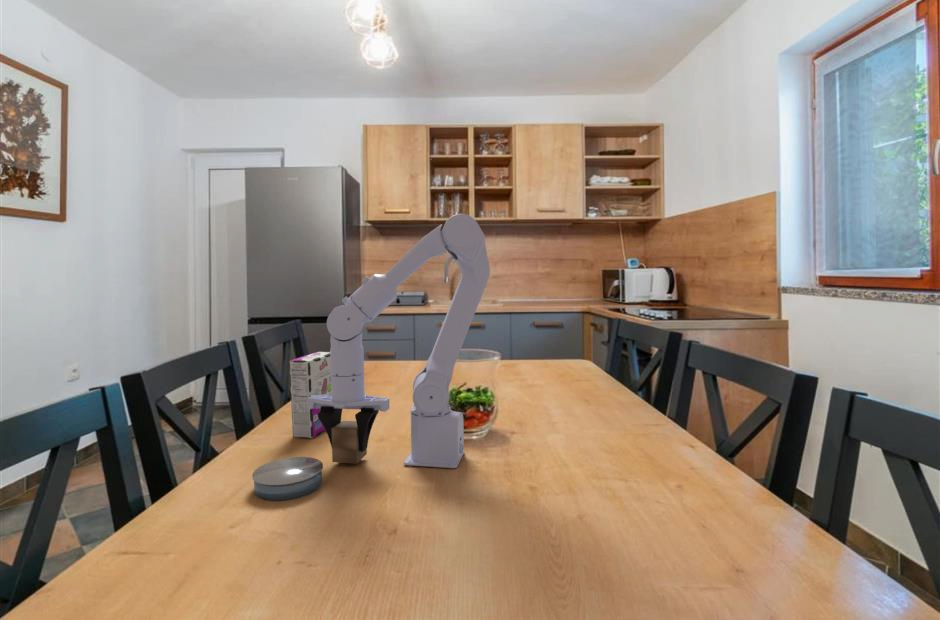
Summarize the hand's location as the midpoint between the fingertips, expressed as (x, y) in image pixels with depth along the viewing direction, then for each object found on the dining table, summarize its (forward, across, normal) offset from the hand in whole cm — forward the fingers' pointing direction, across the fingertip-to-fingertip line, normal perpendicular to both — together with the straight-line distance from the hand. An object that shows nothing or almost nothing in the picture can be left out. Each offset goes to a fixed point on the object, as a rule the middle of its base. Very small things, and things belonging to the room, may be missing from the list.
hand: (349, 448), depth 84 cm
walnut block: (+2, 0, 0) cm, 2 cm away
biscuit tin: (+3, -6, -10) cm, 12 cm away
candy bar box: (+3, -15, +16) cm, 22 cm away
